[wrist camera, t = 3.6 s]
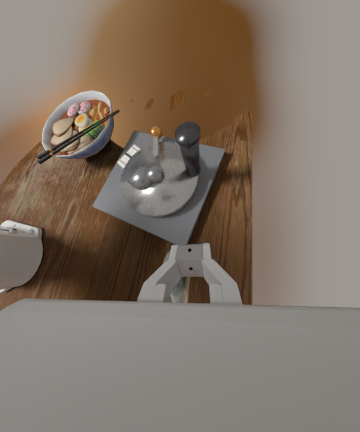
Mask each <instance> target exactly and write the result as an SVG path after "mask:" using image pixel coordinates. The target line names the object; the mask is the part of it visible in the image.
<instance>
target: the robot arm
mask: <svg viewBox="0 0 360 432" xmlns="http://www.w3.org/2000/svg"><path fill="white" fill-rule="evenodd" d="M41 237H42V229H41V228H39V227H35V226H31V225H27V224H24V223H20V222H16V221H12V220H7V221H5V222H4V223H2V224H1V225H0V293H3V292H6V291H8V290H9V289H11V288H13V287H17V286H21V285H23V284H25V283H26V282H28V281H29V280H30V279H31V278H32V277H33V275H34V274H35V273H36V271H37V269H38V267H39V265H40V263H41V259H42V255H43V246H42V241H41ZM181 277H204V278H205V280H206V282H207V283H208V285H209V289H210V304H204V303H172V300H171V298H170V294H171V293H172V291H173V290H174V288H175V287H176V285H177V284H178V282H179V281H180V279H181ZM0 432H360V308H340V307H305V306H271V305H243V304H242V300H241V297H240V293H239V290H238V286H237V283H236V282H235V281H234V280H233V279H232V278H231V277H230V276H229V275H228V274H227V273H226V272H225V271H224V270H223V269H222V268H221V267H220V266H219V265H218V263H217V262H216V261H215V260H214V259H211V251H210V244H209V243H203V244H185V245H172V246H171V250H170V254H169V258H168V261H166V262H165V263H164V264H162V265H161V266H160V267H159V268H158V269H157V270H156V271H155V272H154V273H153V274H152V275H151V276H150V277H149V278H148V279H147V280H146V281H145V282H144V283H143V286H142V289H141V291H140V294H139V297H138V299H137V302H135V301H102V300H69V299H36V298H25V299H22V300H19V301H17V302H15V303H13V304H11V305H10V306H8V307H6V308H4V309H2V310H1V311H0Z"/></svg>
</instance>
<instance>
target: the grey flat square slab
mask: <svg viewBox="0 0 360 432" xmlns="http://www.w3.org/2000/svg"><path fill="white" fill-rule="evenodd" d="M159 142H173V143H177V142H176V139H173V138H168V137H163V136H162V137H161V138H160V139H159ZM150 144H153V138H152V137H151V135H150V134H149V133H144V132H139V131H134V132H133V134H132V136H131V137H130V140H129V141H128V143H127V145H126V146H125V148H124V150H123V152H122V154H121V155H120V157H119V159H118V161H117V163H116V164H115V166H114V168H113V170H112V172H111V173H110V175H109V177H108V179H107V181H106V182H105V184H104V186H103V188H102V190H101V191H100V193H99V195H98V197H97V199H96V200H95V202H94V204H93V206H92V207H95V208H97V209H99V210H101V211H103V212H106V213H108V214H110V215H112V216H114V217H117V218H119V219H121V220H123V221H125V222H128V223H130V224H132V225H134V226H136V227H139V228H141V229H143V230H145V231H147V232H150V233H152V234H154V235H156V236H158V237H161V238H163V239H165V240H167V241H169V242H171V243H174V244H176V245H185V244H188V242H189V240H190V237H191V235H192V232H193V230H194V227H195V225H196V223H197V220H198V218H199V215H200V213H201V210H202V208H203V206H204V203H205V201H206V198H207V196H208V193H209V191H210V188H211V186H212V184H213V181H214V179H215V176H216V174H217V171H218V169H219V166H220V164H221V162H222V159H223V157H224V153H225V149H221V148H216V147H211V146H206V145H202V144H199V151H200V166H201V172H200V174H199V180H198V186H197V190H196V192H195V194H194V196H193V198H192V199H191V201H190V202H189V203H188V204H187V205H186V206H185V207H184V208H183V209H181V210H180V211H178V212H177V213H175V214H173V215H170V216H167V217H162V218H151V217H146V216H144V215H141V214H139V213H137V212H136V211H134V210H132V209H131V208H130V207H129V206H128V205H127V204H126V202H125V201H124V199H123V197H122V194H121V190H120V179H121V174H122V171H123V169H124V167H125V165H126V163H127V162H128V161H129V159H130V158H131V157H132V156H133V155H134V154H135V153H136V152H138V151H139V150H140V149H142V148H144V147H146V146H148V145H150ZM177 144H178V143H177Z"/></svg>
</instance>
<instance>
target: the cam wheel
mask: <svg viewBox="0 0 360 432" xmlns="http://www.w3.org/2000/svg"><path fill="white" fill-rule="evenodd" d="M150 135H151V137H152V138H153V144H150V145H148V146H146V147H144V148H142V149H140V150H139V151H138V152H136V153H135V154H134V155H133V156H132V157H131V158H130V159H129V161H128V162H127V163H126V165H125V167H124V169H123V171H122V174H121V179H120V190H121V194H122V197H123V199H124V201H125V202H126V204H127V205H128V206H129V207H130V208H131V209H132V210H134V211H136V212H137V213H139V214H141V215H144V216H146V217H151V218H162V217H167V216H170V215H173V214H175V213H177V212H178V211H180V210H181V209H183V208H184V207H185V206H186V205H187V204H188V203H189V202H190V201H191V199H192V198H193V196H194V194H195V192H196V190H197V186H198V180H199V174H200V172H201V166H200V151H199V139H200V127H199V126H198V125H197V124H196V123H193V122H186V123H183V124H181V125H180V126H179V127H178V128H177V129H176V131H175V138H176V142H177V143H178V144H177V143H173V142H159V139H160V138H161V137H162V131H161V129H160V128H159V127H158V126H153V127H152V128H151V130H150Z"/></svg>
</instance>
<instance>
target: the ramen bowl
mask: <svg viewBox="0 0 360 432" xmlns="http://www.w3.org/2000/svg"><path fill="white" fill-rule="evenodd" d="M117 111H118V112H119V110H117ZM117 111H115V112H114V113H115V114H117V113H118V112H117ZM116 112H117V113H116ZM114 113H112V106H111V102H110V100H109V99H108V98H107V97H106V95H105V94H104V93H101V92H98V91H93V90H92V91H86V92H81V93H78V94H76V95H74V96H72V97H70V98H68V99H67V100H66V101H64V102H63V103H62V104H60V105H59V106H58V107H57V108H56V109H55V110H54V112H53V113H52V114H51V115H50V117H49V118H48V120H47V122H46V124H45V127H44V129H43V133H42V144H43V146H44V148H45V150H46V151H45V152H43V153H41V154H40V155H38V156H37V158H38V159H40V160H38V163H40V164H41V163H43V162H45V161H46V160H48V159H49V158H51V157H52V156H53V155H54V156H55V157H60V158H67V159H79V158H87V157H90V156H92V155H95V154H97V153H98V152H99V151H100V150H102V149H103V148H104V147H105V146H106V144H107V143H108V141H109V140H110V138H111V135H112V132H113V128H114V121H113V116H114V115H115V114H114ZM49 153H50V154H49ZM44 156H45V157H44Z"/></svg>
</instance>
